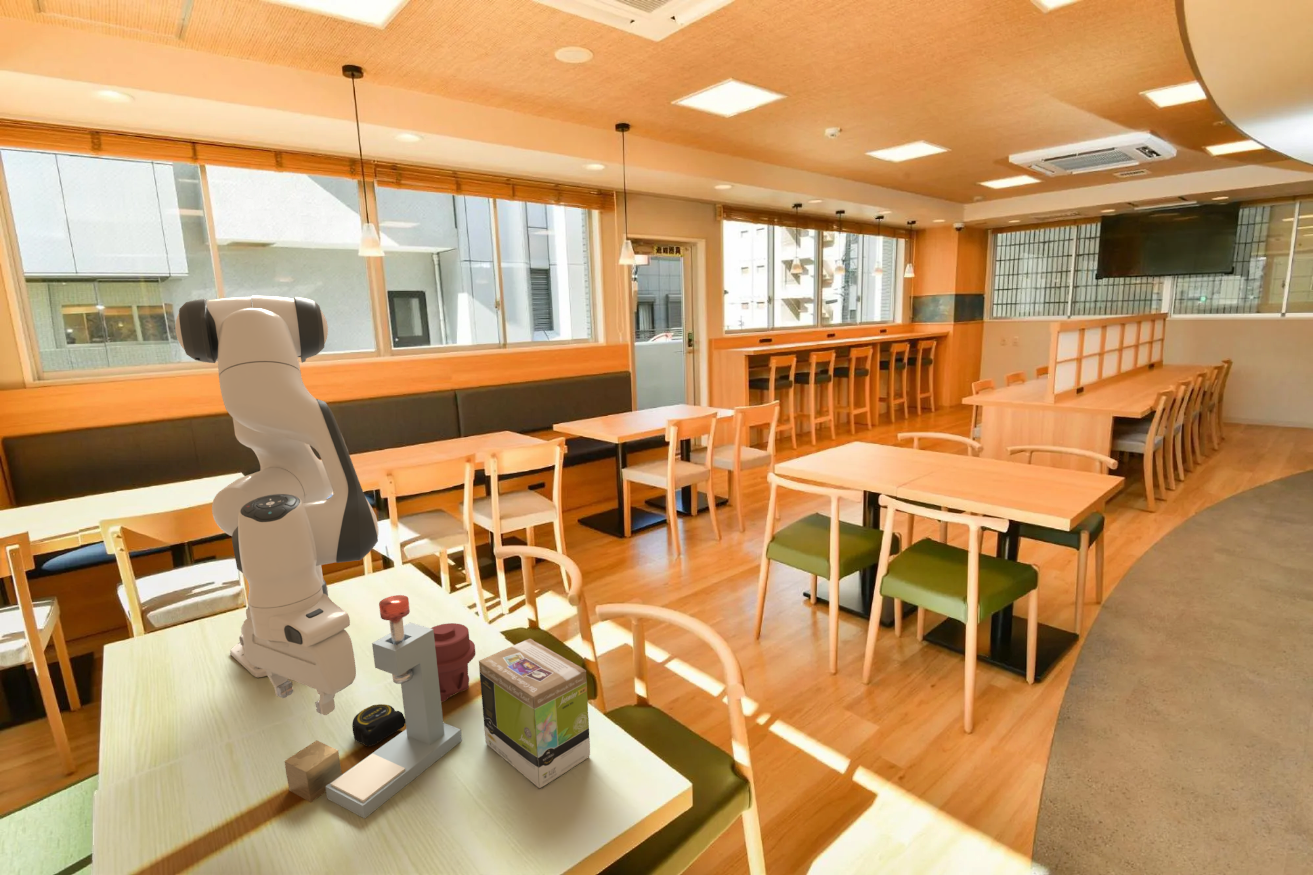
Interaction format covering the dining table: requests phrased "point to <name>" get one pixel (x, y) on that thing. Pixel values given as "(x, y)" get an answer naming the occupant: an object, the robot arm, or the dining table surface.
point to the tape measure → (376, 724)
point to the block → (312, 770)
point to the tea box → (535, 710)
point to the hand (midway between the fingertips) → (305, 703)
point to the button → (396, 625)
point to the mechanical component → (452, 658)
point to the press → (414, 745)
